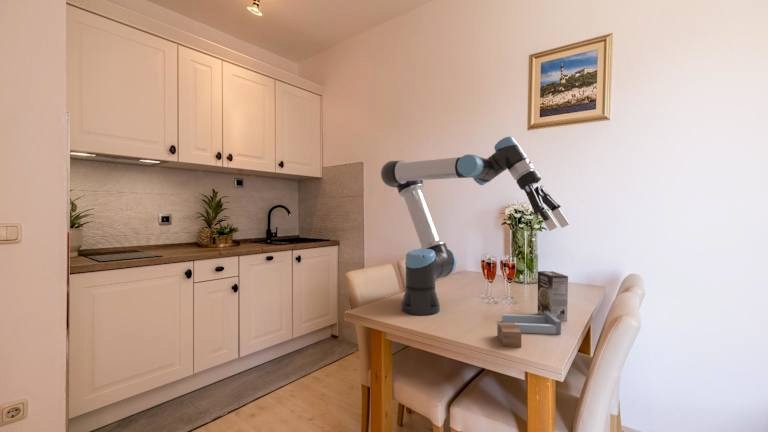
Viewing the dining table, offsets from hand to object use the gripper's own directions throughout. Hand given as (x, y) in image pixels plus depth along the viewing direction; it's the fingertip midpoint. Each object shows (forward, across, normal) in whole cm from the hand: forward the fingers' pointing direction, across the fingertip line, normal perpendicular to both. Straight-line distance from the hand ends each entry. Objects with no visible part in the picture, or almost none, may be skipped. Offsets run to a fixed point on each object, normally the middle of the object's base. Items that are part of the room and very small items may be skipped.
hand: (560, 227), depth 107 cm
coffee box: (+26, +9, +22) cm, 35 cm away
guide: (+24, -8, +24) cm, 35 cm away
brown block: (+24, -24, +24) cm, 41 cm away
